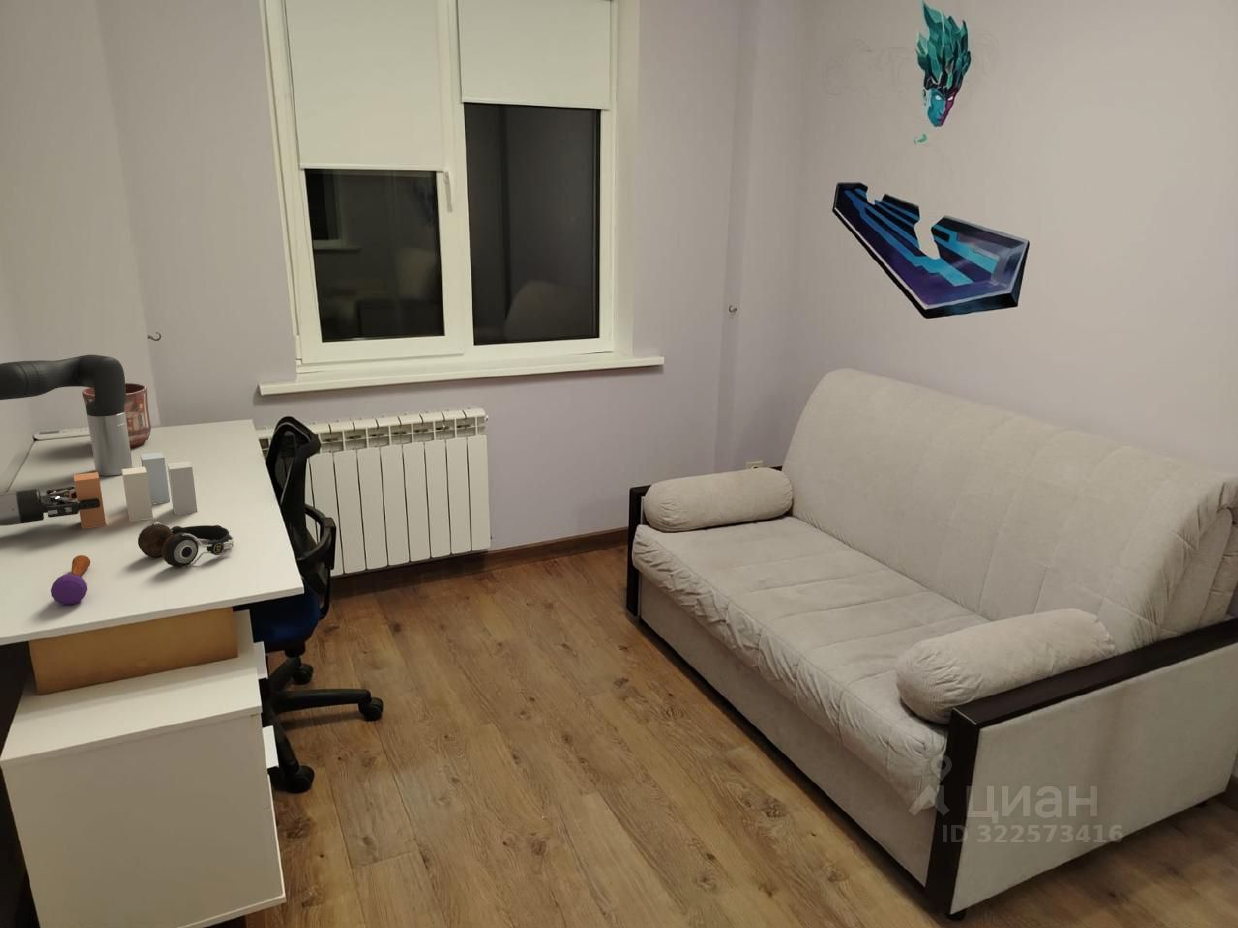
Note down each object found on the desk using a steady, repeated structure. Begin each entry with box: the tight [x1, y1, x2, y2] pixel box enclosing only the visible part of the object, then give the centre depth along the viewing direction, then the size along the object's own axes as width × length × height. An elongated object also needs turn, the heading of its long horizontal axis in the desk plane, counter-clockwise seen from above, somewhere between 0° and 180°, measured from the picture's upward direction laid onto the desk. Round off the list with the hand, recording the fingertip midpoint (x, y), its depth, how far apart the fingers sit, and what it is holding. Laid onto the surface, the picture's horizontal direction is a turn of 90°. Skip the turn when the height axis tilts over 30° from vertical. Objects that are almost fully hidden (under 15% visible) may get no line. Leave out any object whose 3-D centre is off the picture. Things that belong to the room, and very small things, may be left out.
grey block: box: [166, 460, 198, 516], centre depth 215 cm, size 5×5×12 cm
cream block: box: [121, 466, 154, 522], centre depth 210 cm, size 5×5×12 cm
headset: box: [137, 521, 235, 568], centre depth 192 cm, size 17×8×20 cm
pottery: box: [81, 382, 152, 449], centre depth 265 cm, size 18×18×18 cm
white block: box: [140, 452, 171, 505], centre depth 221 cm, size 5×5×12 cm
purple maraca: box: [50, 554, 91, 606], centre depth 173 cm, size 6×6×20 cm
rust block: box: [73, 471, 107, 530], centre depth 204 cm, size 5×5×12 cm
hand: (98, 496), depth 205 cm, fingers open, 8 cm apart
